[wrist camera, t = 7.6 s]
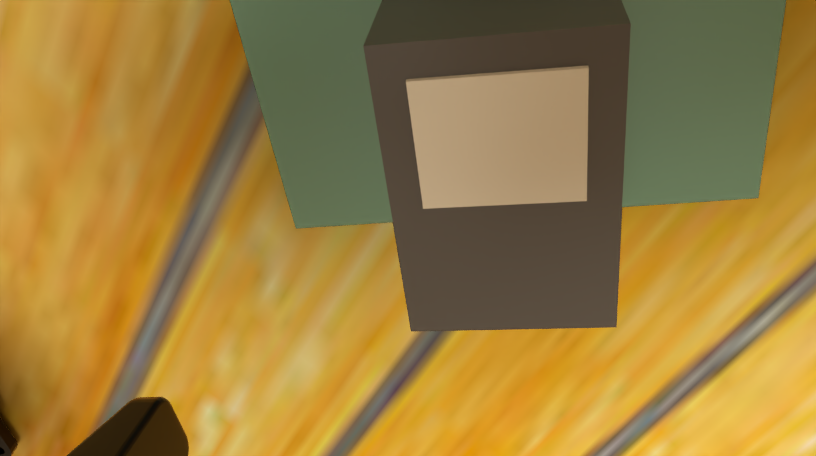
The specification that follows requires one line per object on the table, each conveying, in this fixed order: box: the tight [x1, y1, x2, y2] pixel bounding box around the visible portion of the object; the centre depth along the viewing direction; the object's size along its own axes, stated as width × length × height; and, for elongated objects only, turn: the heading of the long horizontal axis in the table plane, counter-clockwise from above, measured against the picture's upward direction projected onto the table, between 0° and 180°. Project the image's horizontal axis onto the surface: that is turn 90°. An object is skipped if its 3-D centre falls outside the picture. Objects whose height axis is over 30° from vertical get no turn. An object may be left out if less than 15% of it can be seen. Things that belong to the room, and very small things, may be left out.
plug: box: [363, 0, 631, 331], centre depth 14 cm, size 6×4×4 cm, turn 7°
